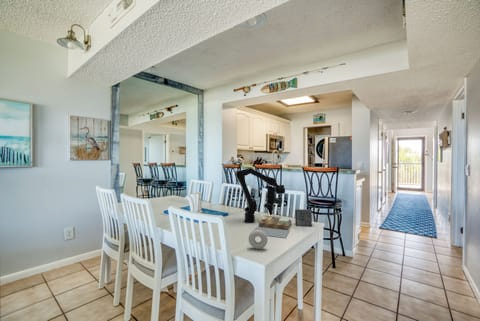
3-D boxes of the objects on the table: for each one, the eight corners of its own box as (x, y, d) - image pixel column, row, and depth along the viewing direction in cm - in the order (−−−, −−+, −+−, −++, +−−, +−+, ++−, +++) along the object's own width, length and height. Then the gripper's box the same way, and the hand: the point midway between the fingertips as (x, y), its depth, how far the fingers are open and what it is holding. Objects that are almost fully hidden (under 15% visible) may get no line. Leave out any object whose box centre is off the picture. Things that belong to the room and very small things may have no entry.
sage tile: (278, 223, 156) (278, 220, 155) (281, 219, 163) (281, 217, 163) (287, 224, 153) (287, 221, 153) (289, 220, 161) (289, 218, 161)
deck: (258, 227, 157) (258, 222, 156) (264, 221, 170) (264, 217, 170) (288, 230, 149) (288, 225, 149) (291, 224, 162) (291, 220, 162)
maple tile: (261, 221, 160) (261, 218, 160) (264, 218, 167) (264, 215, 167) (270, 222, 158) (270, 219, 158) (272, 219, 165) (272, 216, 165)
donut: (248, 249, 119) (248, 230, 119) (249, 246, 123) (249, 228, 123) (267, 250, 118) (267, 231, 117) (267, 248, 121) (267, 229, 121)
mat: (250, 233, 143) (250, 233, 143) (256, 227, 156) (256, 226, 156) (285, 238, 135) (285, 237, 135) (289, 231, 148) (289, 230, 148)
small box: (310, 223, 164) (310, 209, 164) (312, 226, 158) (312, 211, 157) (295, 223, 165) (295, 208, 165) (296, 226, 159) (296, 211, 158)
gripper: (279, 197, 161) (279, 219, 162) (283, 193, 179) (283, 212, 179) (263, 196, 165) (263, 217, 166) (269, 192, 183) (269, 211, 183)
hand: (271, 214), depth 173 cm, fingers closed
